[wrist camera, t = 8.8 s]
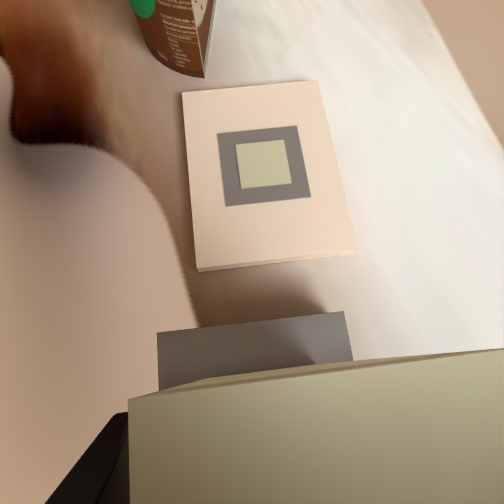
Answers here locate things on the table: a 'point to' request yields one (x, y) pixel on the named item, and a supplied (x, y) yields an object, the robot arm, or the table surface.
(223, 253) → the card
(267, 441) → the sage block
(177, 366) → the slate slab
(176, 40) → the food container
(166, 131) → the table surface
